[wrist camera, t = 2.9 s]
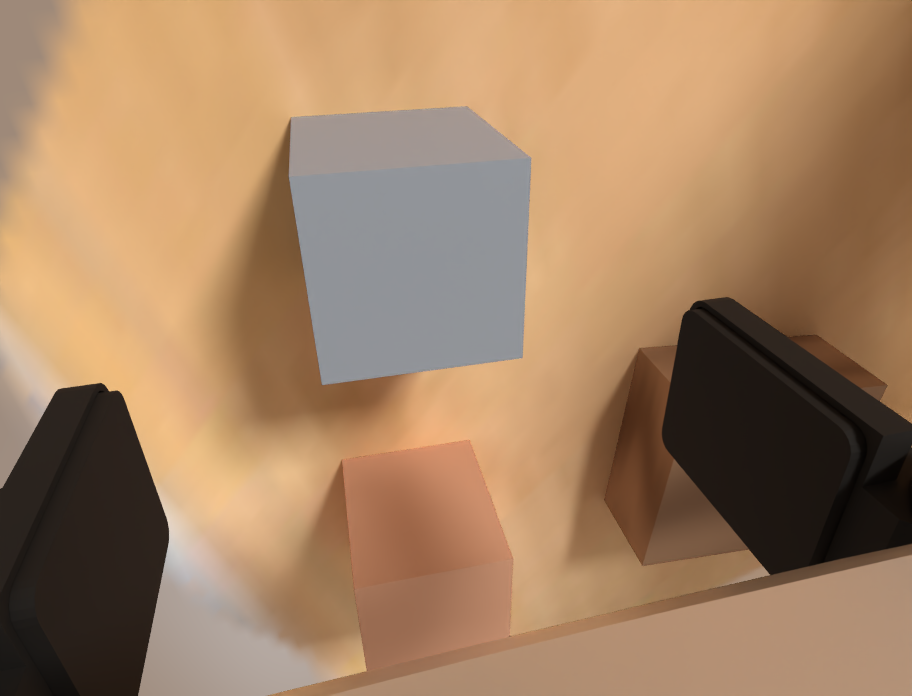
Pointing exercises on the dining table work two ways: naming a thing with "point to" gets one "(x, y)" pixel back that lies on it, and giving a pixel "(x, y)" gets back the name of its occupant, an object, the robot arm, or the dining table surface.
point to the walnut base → (663, 480)
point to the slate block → (410, 240)
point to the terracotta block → (425, 553)
